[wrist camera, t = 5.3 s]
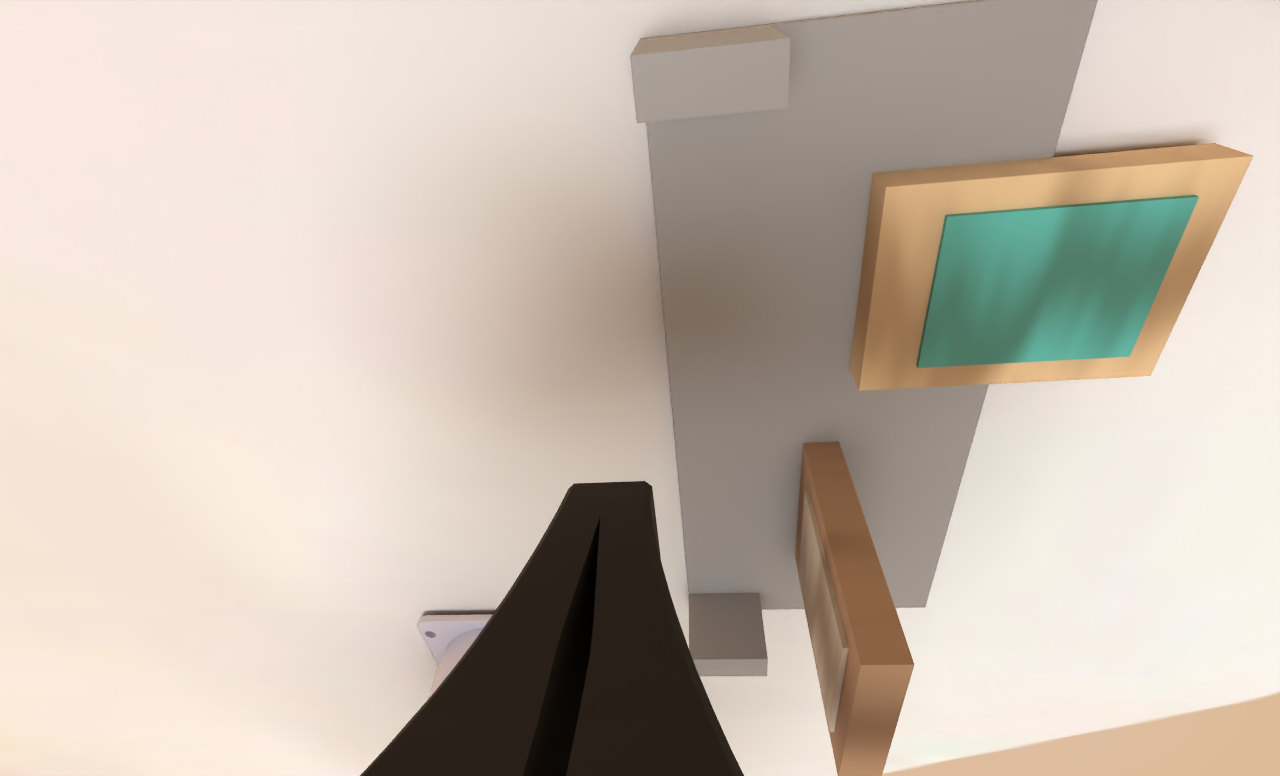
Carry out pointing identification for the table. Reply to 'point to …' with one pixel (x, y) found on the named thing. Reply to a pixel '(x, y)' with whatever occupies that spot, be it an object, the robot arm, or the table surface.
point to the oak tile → (1035, 265)
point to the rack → (818, 273)
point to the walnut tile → (848, 615)
